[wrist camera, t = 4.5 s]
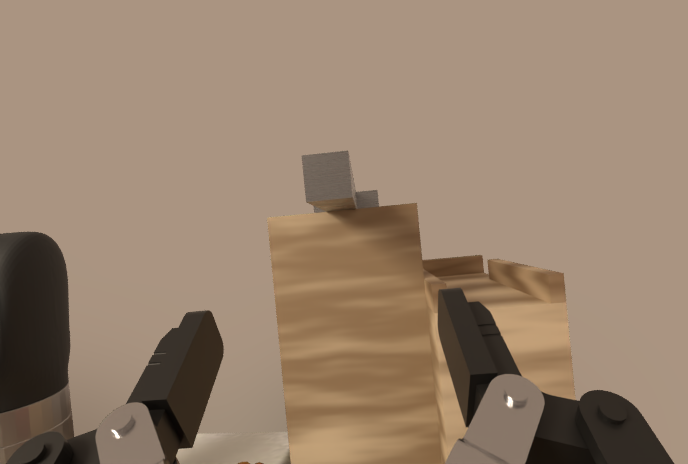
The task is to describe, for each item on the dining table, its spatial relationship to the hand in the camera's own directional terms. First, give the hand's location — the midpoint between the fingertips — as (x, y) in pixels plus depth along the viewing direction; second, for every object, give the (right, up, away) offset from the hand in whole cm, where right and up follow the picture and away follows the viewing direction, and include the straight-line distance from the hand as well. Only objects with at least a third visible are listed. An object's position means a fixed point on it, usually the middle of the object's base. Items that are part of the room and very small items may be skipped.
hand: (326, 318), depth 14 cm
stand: (+8, -27, +23) cm, 36 cm away
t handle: (0, +5, +18) cm, 19 cm away
